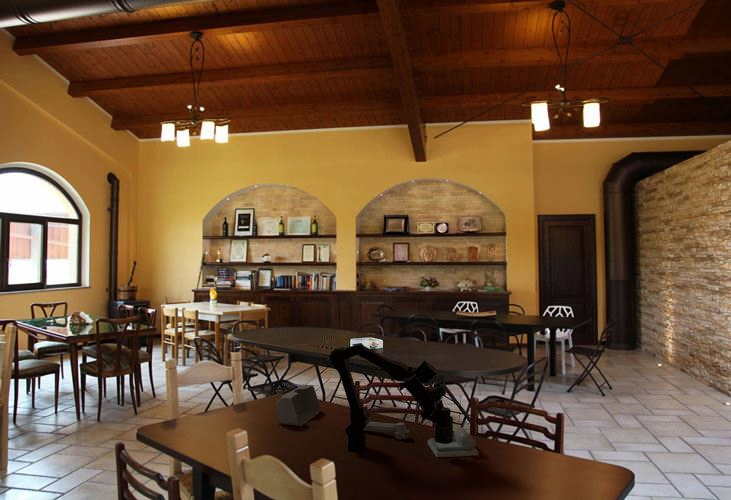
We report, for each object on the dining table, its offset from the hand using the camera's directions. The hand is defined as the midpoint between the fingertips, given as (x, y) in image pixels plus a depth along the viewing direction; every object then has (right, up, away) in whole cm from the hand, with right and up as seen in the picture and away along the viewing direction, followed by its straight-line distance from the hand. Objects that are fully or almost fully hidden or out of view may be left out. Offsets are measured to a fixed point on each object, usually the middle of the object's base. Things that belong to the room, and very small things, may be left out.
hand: (447, 423), depth 192 cm
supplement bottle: (-1, -7, 0) cm, 7 cm away
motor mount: (+3, -13, +7) cm, 15 cm away
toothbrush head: (-24, -13, +25) cm, 37 cm away
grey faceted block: (-63, -13, +48) cm, 81 cm away
